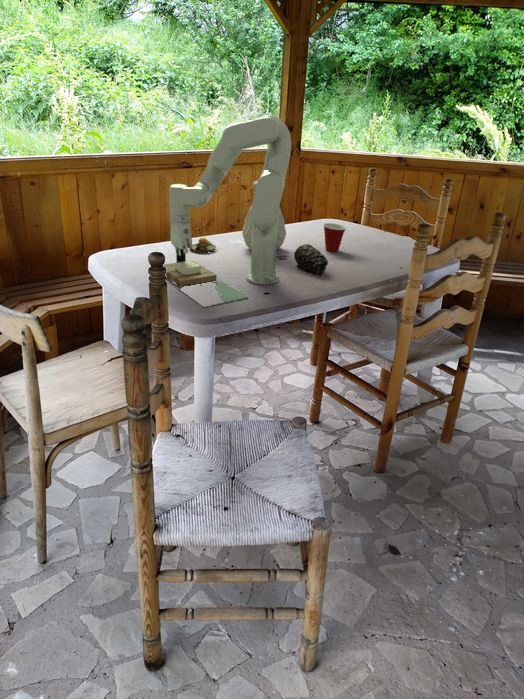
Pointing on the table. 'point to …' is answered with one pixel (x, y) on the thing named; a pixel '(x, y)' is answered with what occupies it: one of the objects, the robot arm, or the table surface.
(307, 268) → the pine cone
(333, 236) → the plastic cup
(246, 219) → the vase
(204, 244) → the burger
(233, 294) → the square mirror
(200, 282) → the wooden board
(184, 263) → the tile
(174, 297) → the table surface
